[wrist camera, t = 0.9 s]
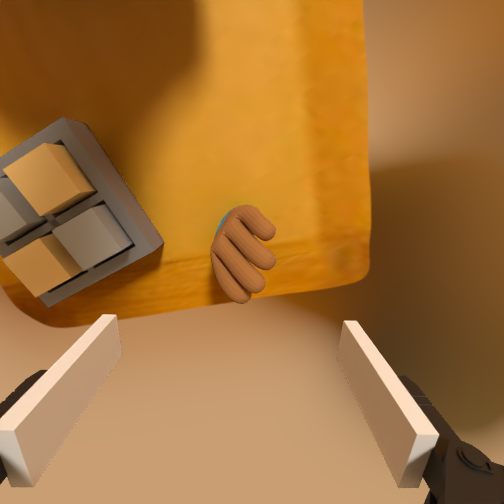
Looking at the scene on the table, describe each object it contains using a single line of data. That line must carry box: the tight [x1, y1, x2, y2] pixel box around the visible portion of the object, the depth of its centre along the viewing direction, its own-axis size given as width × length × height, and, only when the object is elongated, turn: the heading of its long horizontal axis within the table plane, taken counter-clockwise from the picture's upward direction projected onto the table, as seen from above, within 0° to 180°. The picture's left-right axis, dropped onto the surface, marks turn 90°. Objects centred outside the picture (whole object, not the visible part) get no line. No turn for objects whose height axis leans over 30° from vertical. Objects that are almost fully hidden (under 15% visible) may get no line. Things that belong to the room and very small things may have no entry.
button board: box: [0, 117, 164, 308], centre depth 35 cm, size 18×18×4 cm
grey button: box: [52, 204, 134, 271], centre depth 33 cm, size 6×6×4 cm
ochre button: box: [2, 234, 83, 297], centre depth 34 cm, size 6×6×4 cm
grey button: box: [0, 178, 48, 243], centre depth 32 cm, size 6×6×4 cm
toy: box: [210, 205, 276, 304], centre depth 31 cm, size 12×7×15 cm, turn 148°
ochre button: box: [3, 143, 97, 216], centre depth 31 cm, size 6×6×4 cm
